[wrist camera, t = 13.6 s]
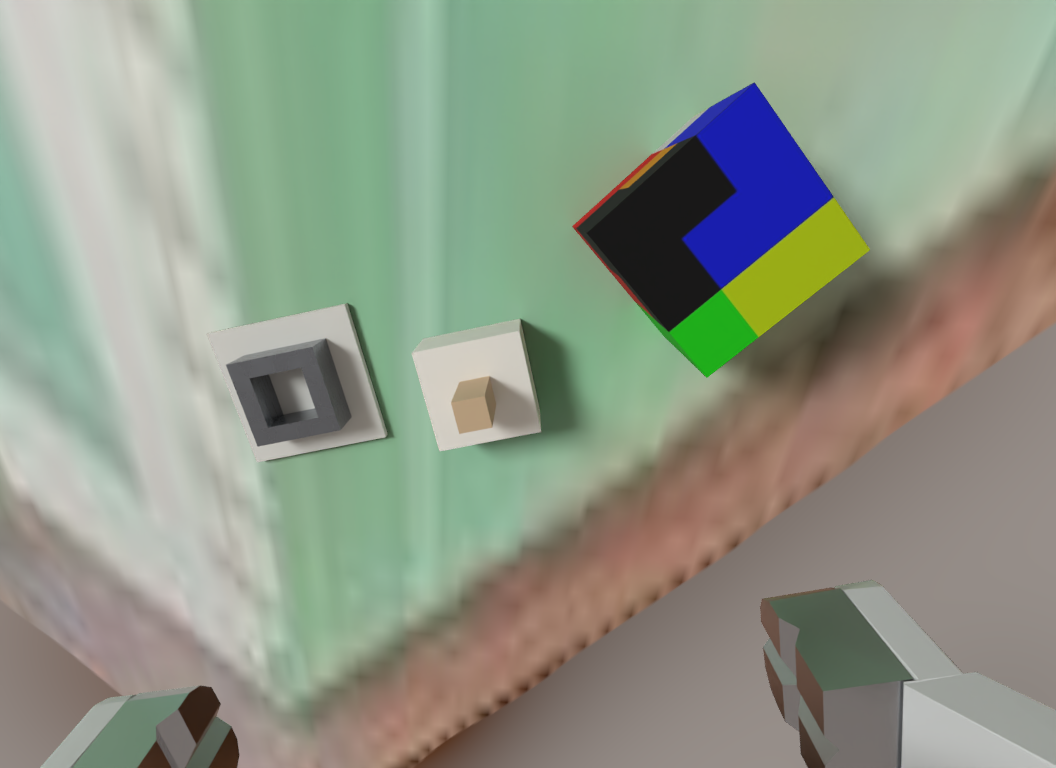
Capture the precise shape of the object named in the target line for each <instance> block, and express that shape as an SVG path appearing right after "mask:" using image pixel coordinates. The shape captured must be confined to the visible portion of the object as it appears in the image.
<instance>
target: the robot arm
mask: <svg viewBox="0 0 1056 768" xmlns="http://www.w3.org/2000/svg"><path fill="white" fill-rule="evenodd" d="M760 609H761V622H762V624H763V626H764V628H765V630H766V632H767V634H768V635H769V637H770V638H769V640H768V641H767V643H766V644H765V645H764V647H763V651H764V660H765V668H766V672H767V676H768V680H769V683H770V688H771V690H772V693H773V696H774V698H775V701H776V703H777V705H778V708H779V710H780V712H781V714H782V716H783V718H784V720H785V722H786V723H788V724H789V725H791V726H792V727H793V728H795V729H796V730H798V731H799V734H800V749H801V755H802V757H803V759H804V761H805V763H806V765H807V767H808V768H1056V710H1054V709H1053V708H1051V707H1049V706H1046V705H1044V704H1042V703H1040V702H1038V701H1036V700H1034V699H1032V698H1029V697H1028V696H1026V695H1023V694H1021V693H1019V692H1017V691H1015V690H1013V689H1011V688H1009V687H1007V686H1005V685H1003V684H1000V683H999V682H996V681H994V680H992V679H990V678H988V677H986V676H984V675H982V674H980V673H978V672H974V673H965V674H964V673H963V672H962V671H961V670H960V669H959V668H958V667H957V666H956V665H955V664H954V662H953V661H952V660H951V659H950V658H949V657H948V656H947V655H946V654H945V653H944V652H943V651H942V650H941V649H940V647H939V646H938V645H937V644H936V643H935V642H934V641H933V640H932V639H931V638H930V637H929V636H928V635H927V634H926V632H925V631H924V630H923V629H922V628H921V627H920V626H919V625H918V624H917V623H916V622H915V621H914V620H913V618H912V617H911V616H910V615H909V614H908V613H907V612H906V611H905V610H904V609H903V608H902V607H901V606H900V605H899V603H898V602H897V601H896V600H895V599H894V598H893V597H892V596H891V595H890V594H889V593H888V592H887V591H886V589H885V588H884V587H883V586H882V585H881V584H879V583H877V582H875V581H873V580H870V581H864V582H858V583H852V584H846V585H841V586H835V587H834V588H826V589H819V590H813V591H807V592H801V593H795V594H789V595H782V596H777V597H770V598H764V599H762V602H761V606H760ZM220 705H221V704H220V702H219V700H218V698H217V696H216V694H215V693H214V691H213V689H212V687H206V686H193V687H186V688H178V689H170V690H162V691H154V692H146V693H139V694H137V695H130V696H121V697H114V698H113V697H112V698H108V699H106V700H104V701H102V702H100V703H98V704H96V705H94V706H93V707H92V709H91V710H90V711H89V712H88V713H87V714H86V715H85V717H84V718H83V719H82V720H81V721H80V722H79V723H78V725H77V726H76V727H75V728H74V729H73V730H72V732H71V733H70V734H69V735H68V736H67V737H66V738H65V740H64V741H63V742H62V743H61V744H60V745H59V747H58V748H57V749H56V750H55V751H54V752H53V753H52V755H51V756H50V757H49V758H48V759H47V760H46V762H45V763H44V764H43V765H42V766H41V767H40V768H237V765H238V760H239V749H238V741H237V738H236V735H235V733H234V731H233V729H232V727H231V726H230V725H228V724H227V723H225V722H224V721H222V720H221V719H219V718H218V717H216V716H217V713H218V710H219V707H220Z"/></svg>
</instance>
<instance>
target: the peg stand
mask: <svg viewBox="0 0 1056 768" xmlns="http://www.w3.org/2000/svg"><path fill="white" fill-rule="evenodd" d="M412 356H413V359H414V363H415V366H416V370H417V373H418V377H419V380H420V384H421V387H422V391H423V395H424V398H425V402H426V405H427V409H428V412H429V416H430V419H431V423H432V427H433V430H434V434H435V437H436V441H437V444H438V448H439V451H444V450H449V449H454V448H460V447H465V446H470V445H475V444H480V443H486V442H491V441H496V440H501V439H506V438H512V437H517V436H522V435H527V434H532V433H538V432H541V418H540V408H539V403H538V398H537V394H536V389H535V385H534V380H533V375H532V371H531V366H530V361H529V357H528V352H527V347H526V343H525V338H524V334H523V329H522V324H521V320H520V319H516V320H511V321H506V322H501V323H497V324H492V325H487V326H482V327H477V328H472V329H468V330H463V331H458V332H453V333H448V334H443V335H438V336H434V337H429V338H424V339H423V340H422V341H421V342H420V343H419V345H418V346H417V347H416V348H415V350H414V351H413V352H412Z"/></svg>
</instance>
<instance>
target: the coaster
mask: <svg viewBox="0 0 1056 768" xmlns="http://www.w3.org/2000/svg"><path fill="white" fill-rule="evenodd" d="M207 336H208V339H209V341H210V344H211V346H212V349H213V351H214V354H215V356H216V359H217V362H218V364H219V367H220V369H221V372H222V374H223V377H224V379H225V382H226V384H227V387H228V389H229V392H230V395H231V397H232V400H233V402H234V405H235V407H236V410H237V412H238V415H239V417H240V420H241V423H242V425H243V428H244V430H245V433H246V435H247V438H248V440H249V443H250V445H251V448H252V451H253V453H254V456H255V458H256V461H257V462H261V461H266V460H271V459H276V458H282V457H287V456H292V455H297V454H302V453H307V452H312V451H317V450H323V449H328V448H333V447H338V446H343V445H348V444H353V443H358V442H364V441H369V440H374V439H379V438H384V437H386V436H387V434H388V433H387V430H386V427H385V424H384V420H383V417H382V414H381V411H380V407H379V404H378V401H377V398H376V394H375V391H374V388H373V385H372V381H371V378H370V375H369V372H368V369H367V365H366V362H365V359H364V356H363V352H362V349H361V346H360V343H359V339H358V336H357V333H356V330H355V327H354V323H353V320H352V317H351V314H350V310H349V307H348V304H347V303H346V304H341V305H337V306H332V307H327V308H322V309H318V310H313V311H308V312H304V313H299V314H294V315H290V316H285V317H280V318H275V319H271V320H266V321H261V322H257V323H252V324H247V325H242V326H238V327H233V328H228V329H224V330H219V331H214V332H210V333H208V334H207ZM324 338H326V340H327V343H328V346H329V349H330V352H331V355H332V358H333V361H334V364H335V367H336V371H337V374H338V377H339V380H340V383H341V386H342V389H343V392H344V395H345V398H346V401H347V404H348V407H349V410H350V413H351V416H352V417H351V419H350V420H349V421H348V422H347V423H346V424H345V426H344V427H343V428H342V429H341V430H339V431H334V432H329V433H324V434H319V435H314V436H309V437H304V438H299V439H294V440H289V441H284V442H279V443H274V444H269V445H264V446H259V447H258V446H257V444H256V441H255V439H254V436H253V434H252V431H251V428H250V426H249V423H248V421H247V418H246V416H245V413H244V410H243V408H242V405H241V403H240V400H239V398H238V395H237V393H236V390H235V387H234V385H233V382H232V380H231V377H230V375H229V372H228V369H227V367H226V365H227V364H228V363H230V362H232V361H234V360H236V359H238V358H240V357H242V356H244V355H248V354H253V353H257V352H262V351H267V350H272V349H276V348H281V347H286V346H291V345H295V344H300V343H305V342H310V341H315V340H319V339H324ZM269 376H270V379H271V382H272V384H273V387H274V390H275V393H276V395H277V398H278V401H279V403H280V406H281V409H282V412H283V414H289V413H294V412H299V411H304V410H309V409H314V408H315V407H314V404H313V401H312V398H311V395H310V392H309V389H308V387H307V384H306V381H305V378H304V375H303V372H302V369H301V368H297V369H292V370H288V371H283V372H278V373H273V374H269Z"/></svg>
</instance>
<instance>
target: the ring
mask: <svg viewBox="0 0 1056 768" xmlns="http://www.w3.org/2000/svg"><path fill="white" fill-rule="evenodd" d="M226 367H227V369H228V372H229V375H230V377H231V380H232V382H233V385H234V387H235V390H236V393H237V395H238V398H239V400H240V403H241V405H242V408H243V410H244V413H245V416H246V418H247V421H248V423H249V426H250V428H251V431H252V434H253V436H254V439H255V441H256V444H257V446H258V447H259V446H264V445H269V444H274V443H279V442H284V441H289V440H294V439H299V438H304V437H309V436H314V435H319V434H324V433H329V432H334V431H339V430H341V429H342V428H343V427H344V426H345V424H346V423H347V422H348V421H349V420H350V419H351V417H352V416H351V413H350V410H349V407H348V404H347V401H346V398H345V395H344V392H343V389H342V386H341V383H340V380H339V377H338V374H337V371H336V367H335V364H334V361H333V358H332V355H331V352H330V349H329V346H328V343H327V340H326V338H324V339H319V340H315V341H310V342H305V343H300V344H295V345H291V346H286V347H281V348H276V349H272V350H267V351H262V352H257V353H253V354H248V355H244V356H242V357H240V358H238V359H236V360H234V361H232V362H230V363H228V364H227V365H226ZM297 368H301V369H302V372H303V375H304V378H305V381H306V384H307V387H308V389H309V392H310V395H311V398H312V401H313V404H314V407H315V408H314V409H309V410H304V411H299V412H294V413H289V414H283V412H282V409H281V406H280V403H279V401H278V398H277V395H276V393H275V390H274V387H273V384H272V382H271V379H270V376H269V374H273V373H278V372H283V371H288V370H292V369H297Z"/></svg>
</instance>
